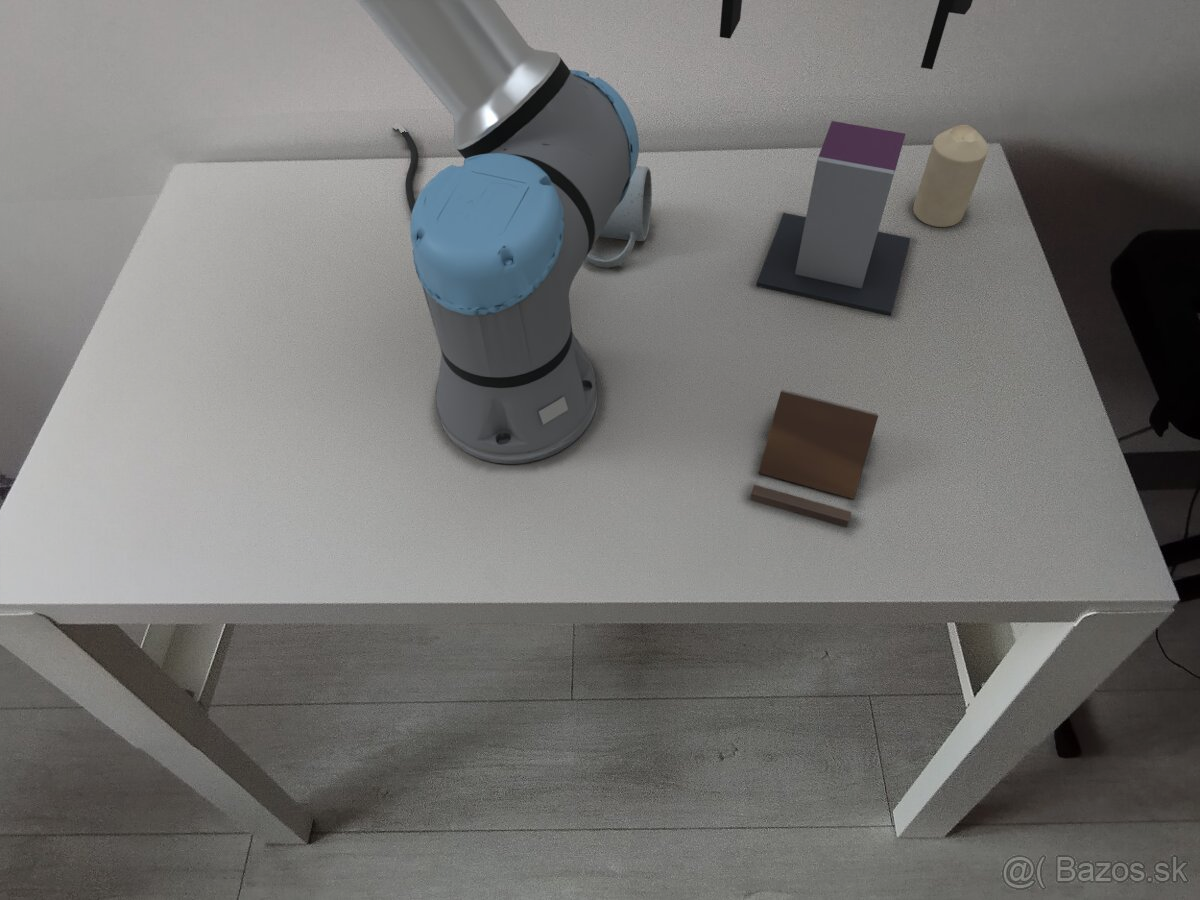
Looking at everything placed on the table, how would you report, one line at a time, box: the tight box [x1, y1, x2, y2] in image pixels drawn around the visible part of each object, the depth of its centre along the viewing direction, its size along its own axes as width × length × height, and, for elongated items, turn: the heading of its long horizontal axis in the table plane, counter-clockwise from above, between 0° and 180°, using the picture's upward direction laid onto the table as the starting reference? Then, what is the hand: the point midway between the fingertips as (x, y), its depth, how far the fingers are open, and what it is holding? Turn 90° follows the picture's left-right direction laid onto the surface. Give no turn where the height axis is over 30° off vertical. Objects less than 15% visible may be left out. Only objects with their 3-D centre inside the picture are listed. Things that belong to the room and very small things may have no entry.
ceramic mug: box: [585, 166, 653, 268], centre depth 91 cm, size 11×8×8 cm
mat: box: [756, 212, 911, 316], centre depth 90 cm, size 14×12×1 cm
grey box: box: [795, 120, 906, 289], centre depth 84 cm, size 14×7×14 cm
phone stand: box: [749, 389, 879, 528], centre depth 73 cm, size 10×8×7 cm
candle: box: [912, 124, 990, 228], centre depth 91 cm, size 6×6×10 cm
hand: (826, 43), depth 58 cm, fingers open, 13 cm apart
